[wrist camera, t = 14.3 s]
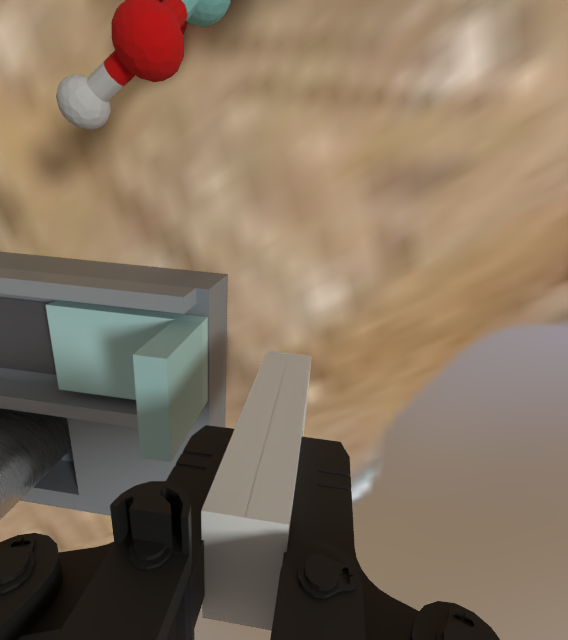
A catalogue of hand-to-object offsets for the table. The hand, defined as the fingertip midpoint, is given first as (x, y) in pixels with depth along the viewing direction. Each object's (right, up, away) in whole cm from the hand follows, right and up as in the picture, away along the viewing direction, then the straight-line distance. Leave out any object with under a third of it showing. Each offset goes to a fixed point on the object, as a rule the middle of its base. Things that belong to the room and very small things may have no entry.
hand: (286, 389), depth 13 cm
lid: (-6, +1, +2) cm, 6 cm away
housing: (-10, -1, +6) cm, 12 cm away
